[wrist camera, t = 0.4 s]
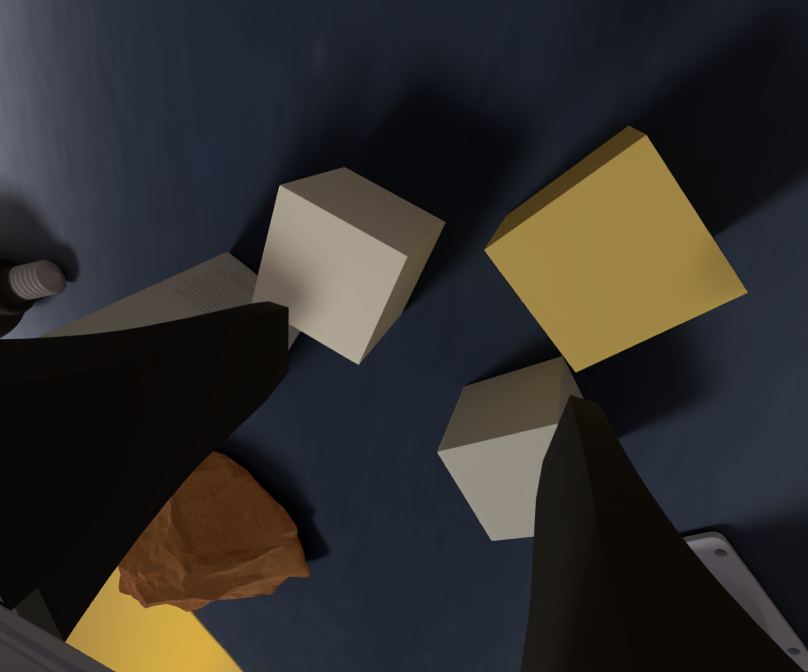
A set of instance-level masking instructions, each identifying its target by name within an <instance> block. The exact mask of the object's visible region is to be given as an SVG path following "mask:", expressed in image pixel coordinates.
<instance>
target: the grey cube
mask: <svg viewBox="0 0 808 672" xmlns="http://www.w3.org/2000/svg"><path fill="white" fill-rule="evenodd" d="M570 395H573V396H576V397H579V398H582V399H583V397H582V395H581V393H580V390H579V388H578V386H577V384H576V382H575V380H574V378H573V376H572V374H571V372H570V370H569V368H568V366H567V364H566V362H565V360H564V358H563V356H561V357H558V358H555V359H552V360H548V361H545V362H542V363H539V364H535V365H532V366H529V367H526V368H523V369H519V370H516V371H513V372H510V373H506V374H503V375H500V376H497V377H494V378H490V379H487V380H484V381H481V382H477V383H474V384H471V385H468V386H465V387H464V388H463V390H462V393H461V395H460V398H459V400H458V402H457V405H456V407H455V410H454V412H453V415H452V417H451V420H450V422H449V424H448V427H447V429H446V432H445V434H444V437H443V439H442V441H441V444H440V446H439V449H438V451H437V452H438V454H439V456H440V457H441V459H442V461H443V462H444V464H445V465H446V467H447V469H448V470H449V472H450V474H451V475H452V477H453V478H454V480H455V482H456V483H457V485H458V487H459V488H460V490H461V491H462V493H463V495H464V496H465V498H466V500H467V501H468V503H469V505H470V506H471V508H472V509H473V511H474V513H475V514H476V516H477V518H478V519H479V521H480V522H481V524H482V526H483V527H484V529H485V531H486V532H487V534H488V535H489V537H490V539H491V540H492V541H495V540H504V539H513V538H522V537H532V536H534V522H535V505H536V495H537V490H538V484H539V478H540V473H541V468H542V463H543V459H544V457H545V454H546V452H547V449H548V447H549V445H550V442H551V440H552V437H553V435H554V432H555V430H556V428H557V425H558V423H559V420H560V418H561V416H562V413H563V411H564V408H565V406H566V404H567V401H568V399H569V396H570Z"/></svg>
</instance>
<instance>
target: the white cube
mask: <svg viewBox="0 0 808 672" xmlns="http://www.w3.org/2000/svg"><path fill="white" fill-rule="evenodd" d="M445 223H446V222H444V221H442V220H441V219H439V218H437V217H435V216H433V215H431V214H430V213H428V212H426V211H424V210H422V209H420V208H419V207H417V206H415V205H413V204H411V203H409V202H408V201H406V200H404V199H402V198H400V197H398V196H397V195H395V194H393V193H391V192H389V191H387V190H386V189H384V188H382V187H380V186H378V185H376V184H375V183H373V182H371V181H369V180H367V179H365V178H364V177H362V176H360V175H358V174H356V173H354V172H353V171H351V170H349V169H347V168H345V167H343V168H339V169H336V170H332V171H329V172H325V173H321V174H318V175H314V176H311V177H307V178H303V179H300V180H296V181H293V182H289V183H286V184H282V185H280V186H279V190H278V194H277V198H276V203H275V207H274V211H273V215H272V219H271V223H270V227H269V232H268V236H267V240H266V244H265V248H264V252H263V256H262V261H261V265H260V269H259V273H258V277H257V281H256V286H255V290H254V294H253V298H252V302H253V303H258V302H266V301H270V302H273V303H276V304H280V305H283V306H286V307H289V324H290V325H292V326H294V327H295V328H297V329H299V330H300V331H302V332H304V333H305V334H307V335H309V336H311V337H312V338H314V339H316V340H317V341H319V342H321V343H322V344H324V345H326V346H328V347H329V348H331V349H333V350H334V351H336V352H338V353H339V354H341V355H343V356H345V357H346V358H348V359H350V360H351V361H353V362H355V363H356V364H358V365H359V364H360V362H361V361H362V360H363V359H364V358H365V357H366V355H367V354H368V353H369V352H370V351H371V349H372V348H373V347H374V346H375V345H376V344H377V342H378V341H379V340H380V339H381V338H382V336H383V335H384V334H385V333H386V332H387V331H388V329H389V328H390V327H391V326H392V325H393V323H394V322H395V321H396V320H397V319H398V318H399V316H400V315H401V314H402V312H403V310H404V308H405V306H406V304H407V301H408V299H409V297H410V295H411V293H412V291H413V289H414V287H415V285H416V283H417V281H418V279H419V277H420V275H421V273H422V270H423V268H424V266H425V264H426V262H427V260H428V258H429V256H430V254H431V252H432V250H433V248H434V246H435V244H436V242H437V240H438V237H439V235H440V233H441V231H442V229H443V227H444V225H445Z"/></svg>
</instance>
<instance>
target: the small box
mask: <svg viewBox="0 0 808 672" xmlns="http://www.w3.org/2000/svg"><path fill="white" fill-rule="evenodd" d="M257 277H258V275H256V274H255V273H254V272H253V271H251V270H250V269H249V268H248V267H246V266H245V265H244V264H243V263H241V262H240V261H239V260H238V259H236V258H235V257H234V256H233V255H231V254H230V253H228V252H226V253H224V254H221V255H219V256H217V257H215V258H213V259H210V260H208V261H206V262H204V263H201V264H199V265H197V266H195V267H192V268H190V269H188V270H186V271H184V272H181V273H179V274H177V275H175V276H173V277H170V278H168V279H166V280H164V281H162V282H160V283H157V284H155V285H153V286H151V287H148V288H146V289H144V290H142V291H139V292H137V293H135V294H133V295H131V296H128V297H126V298H124V299H122V300H119V301H117V302H115V303H113V304H111V305H109V306H107V307H104V308H102V309H100V310H97V311H95V312H93V313H91V314H89V315H86V316H84V317H82V318H80V319H78V320H76V321H74V322H72V323H69V324H67V325H65V326H63V327H60V328H58V329H56V330H54V331H51V332H49V333H47V334H45V335H42V336H40V337H38V338H45V337H59V336H73V335H85V334H94V333H102V332H110V331H118V330H125V329H131V328H137V327H143V326H148V325H154V324H159V323H164V322H169V321H174V320H179V319H184V318H189V317H193V316H197V315H202V314H206V313H211V312H215V311H219V310H224V309H228V308H233V307H237V306H242V305H247V304H252V303H253V302H252V298H253V294H254V290H255V286H256V281H257ZM299 333H300V330H299V329H297V328H295V327H294V326H292V325H290V324H289V341H288V350H289V349H290V347H291V346H292V344H293V342H294V341H295V339H296V337H297V336H298V334H299Z"/></svg>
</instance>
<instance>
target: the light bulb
mask: <svg viewBox="0 0 808 672" xmlns="http://www.w3.org/2000/svg"><path fill="white" fill-rule="evenodd" d="M65 288H66V280H65V276H64V274H63V272H62V270H61V269H60V268H59V267H58V266H57V265H56V264H54V263H52V262H50V261H47V260H41V261H36V262H32V263H27V264H23V265H19V264H18V263H16V262H14V261H11V260H9V259H5V258H0V338H1V337H3V336H5V335H6V334H8V333H9V332H10V331H11V330H13V329H14V328H15V327H16V326H17V325H18V323H19V322H20V320H21V319H22V317H23V315H24V313H25V311H27V310H29V309H30V308H31V307H32V306H33V304H34V302H35V300H36V298H40V297H45V296H50V295H54V294H58V293H61V292H63V291H64V290H65Z"/></svg>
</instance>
